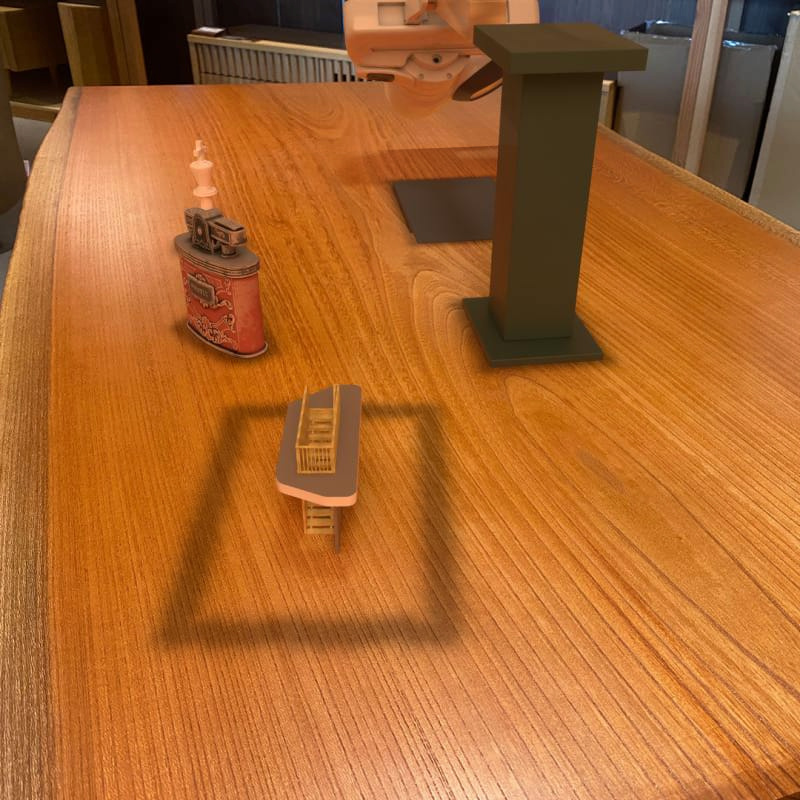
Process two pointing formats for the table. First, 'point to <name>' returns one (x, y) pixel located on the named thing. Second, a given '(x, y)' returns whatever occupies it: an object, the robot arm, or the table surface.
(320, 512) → the platform
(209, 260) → the lighter
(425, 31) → the robot arm
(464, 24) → the ash bar
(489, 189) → the mat
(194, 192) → the chess piece
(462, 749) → the table surface
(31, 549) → the table surface
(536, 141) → the stand
